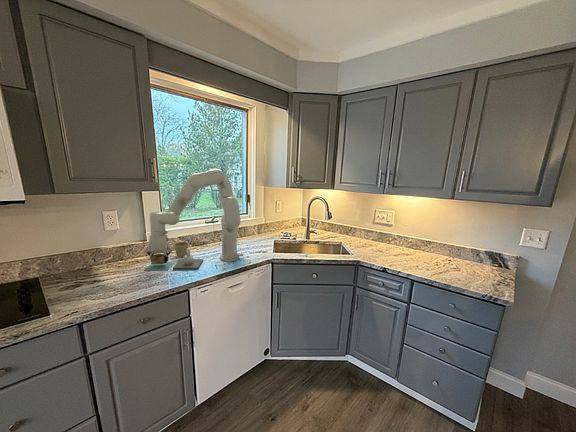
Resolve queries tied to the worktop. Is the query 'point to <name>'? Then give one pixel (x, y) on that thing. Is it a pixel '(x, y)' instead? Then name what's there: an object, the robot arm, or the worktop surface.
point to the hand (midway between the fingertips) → (159, 262)
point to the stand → (188, 262)
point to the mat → (159, 267)
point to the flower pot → (181, 249)
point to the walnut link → (157, 259)
